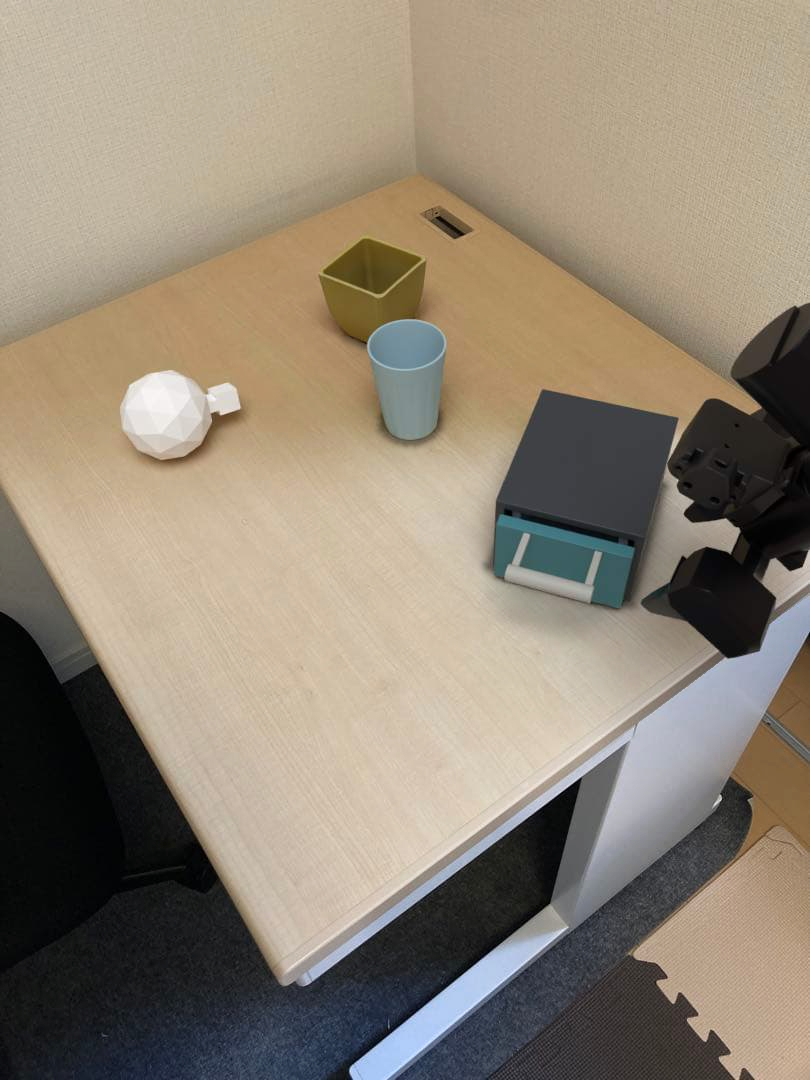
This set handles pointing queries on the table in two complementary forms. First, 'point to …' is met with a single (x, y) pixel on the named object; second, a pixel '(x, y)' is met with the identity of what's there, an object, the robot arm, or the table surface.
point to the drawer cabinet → (590, 468)
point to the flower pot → (372, 285)
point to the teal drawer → (562, 559)
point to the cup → (408, 375)
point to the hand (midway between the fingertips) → (667, 560)
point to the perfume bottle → (172, 413)
